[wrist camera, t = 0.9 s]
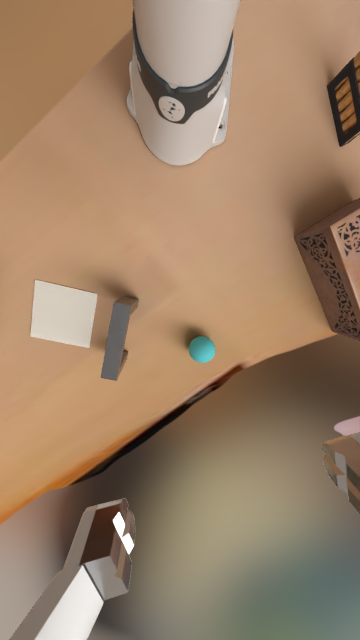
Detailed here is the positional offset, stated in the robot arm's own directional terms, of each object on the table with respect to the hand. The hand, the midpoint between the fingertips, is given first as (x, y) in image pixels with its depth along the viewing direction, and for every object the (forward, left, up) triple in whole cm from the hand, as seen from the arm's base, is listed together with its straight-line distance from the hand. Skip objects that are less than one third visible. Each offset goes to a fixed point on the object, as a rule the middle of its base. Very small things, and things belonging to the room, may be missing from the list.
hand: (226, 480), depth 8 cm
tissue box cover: (-18, +35, -38) cm, 55 cm away
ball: (+7, +7, -35) cm, 36 cm away
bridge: (+7, -11, -38) cm, 40 cm away
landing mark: (+7, -25, -38) cm, 46 cm away
